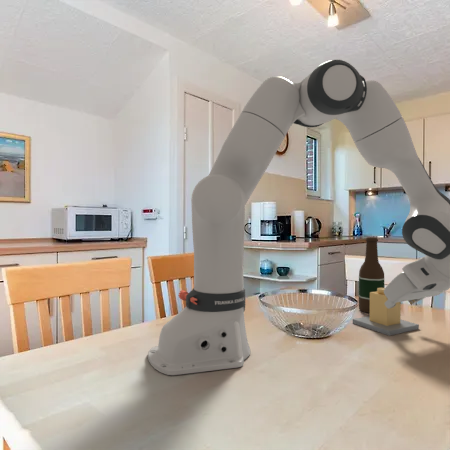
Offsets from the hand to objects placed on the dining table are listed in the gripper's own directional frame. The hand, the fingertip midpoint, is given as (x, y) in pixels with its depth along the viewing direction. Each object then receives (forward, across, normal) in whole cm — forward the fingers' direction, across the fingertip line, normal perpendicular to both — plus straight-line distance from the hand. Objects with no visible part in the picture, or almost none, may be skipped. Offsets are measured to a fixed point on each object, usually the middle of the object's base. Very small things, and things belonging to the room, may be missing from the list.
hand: (399, 303), depth 94 cm
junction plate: (+8, 0, +2) cm, 8 cm away
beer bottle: (+17, -10, -7) cm, 21 cm away
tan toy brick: (+7, 0, +1) cm, 7 cm away
